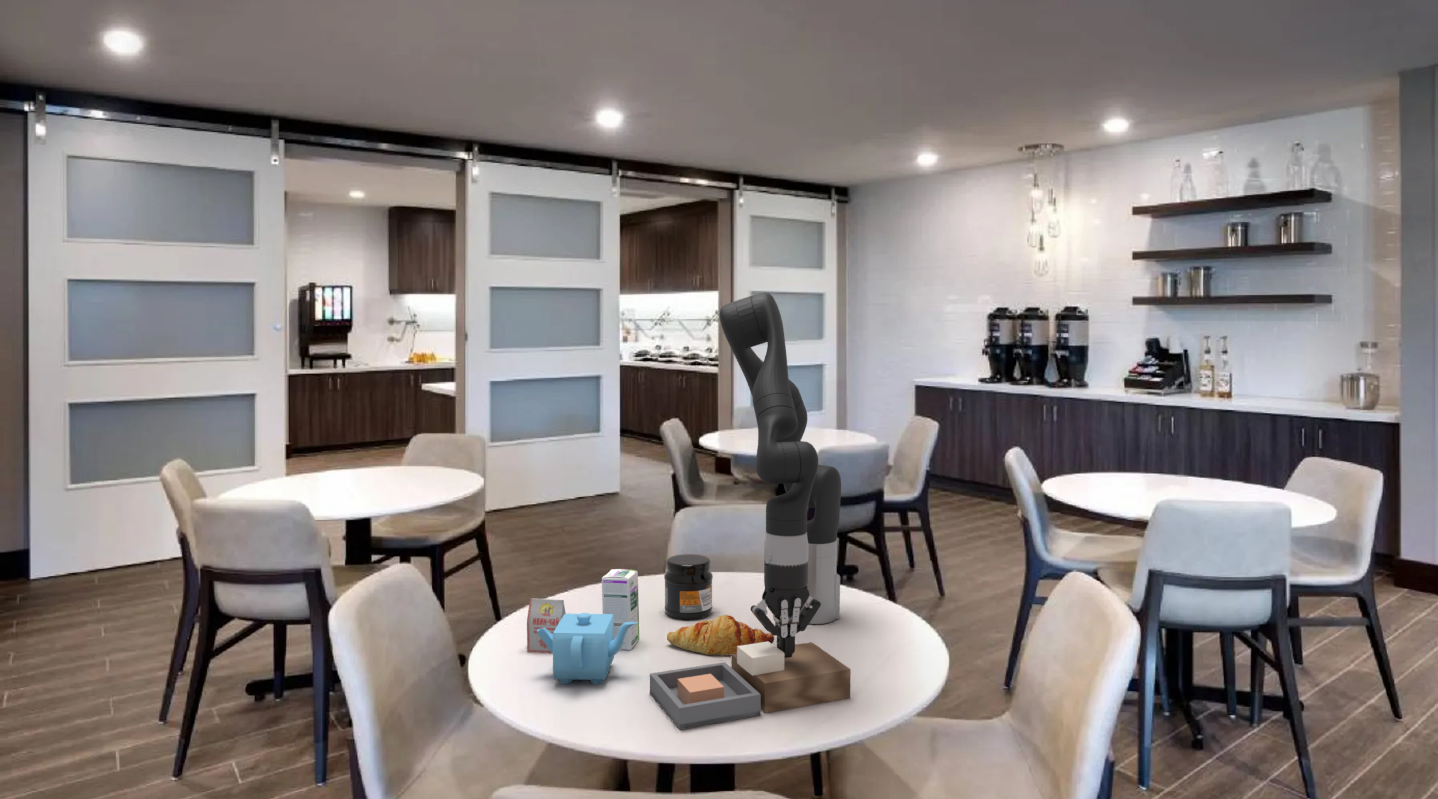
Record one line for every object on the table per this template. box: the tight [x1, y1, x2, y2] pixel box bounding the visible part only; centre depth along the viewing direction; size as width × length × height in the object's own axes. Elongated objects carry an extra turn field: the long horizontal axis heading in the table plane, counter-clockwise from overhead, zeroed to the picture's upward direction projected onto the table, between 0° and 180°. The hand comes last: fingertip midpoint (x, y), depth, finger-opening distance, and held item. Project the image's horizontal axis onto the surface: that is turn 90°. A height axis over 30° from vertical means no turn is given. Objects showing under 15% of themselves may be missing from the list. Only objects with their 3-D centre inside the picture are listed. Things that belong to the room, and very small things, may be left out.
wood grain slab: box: [730, 641, 852, 714], centre depth 158 cm, size 16×14×5 cm
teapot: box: [537, 612, 637, 685], centre depth 164 cm, size 16×18×11 cm
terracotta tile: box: [678, 674, 724, 704], centre depth 152 cm, size 6×6×3 cm
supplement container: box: [663, 553, 714, 621], centre depth 198 cm, size 10×10×12 cm
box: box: [649, 661, 762, 731], centre depth 152 cm, size 14×15×4 cm
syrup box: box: [601, 568, 640, 651], centre depth 179 cm, size 6×6×14 cm
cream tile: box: [737, 641, 784, 676], centre depth 155 cm, size 6×6×3 cm
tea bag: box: [526, 598, 567, 654], centre depth 177 cm, size 4×7×10 cm, turn 81°
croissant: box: [666, 614, 775, 656], centre depth 178 cm, size 21×10×8 cm
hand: (785, 656), depth 157 cm, fingers closed
